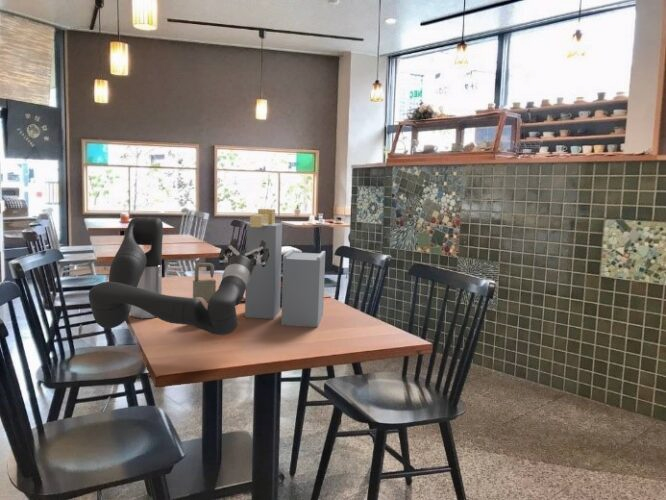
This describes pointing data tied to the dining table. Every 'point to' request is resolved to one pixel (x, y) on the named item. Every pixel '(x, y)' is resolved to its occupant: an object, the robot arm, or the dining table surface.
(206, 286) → the padlock
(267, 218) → the brass stop bar
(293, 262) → the slate post and ledge
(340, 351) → the dining table surface
